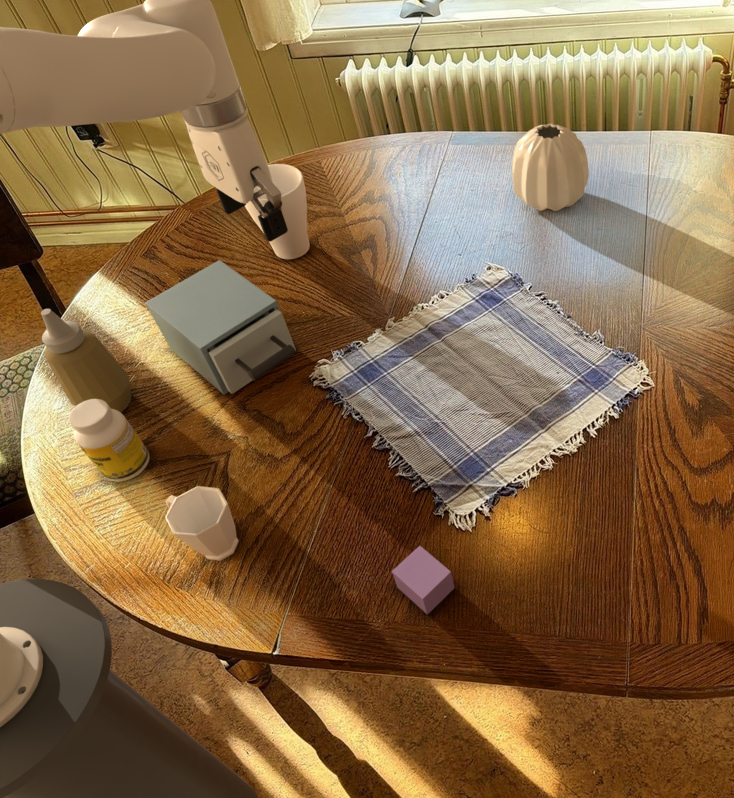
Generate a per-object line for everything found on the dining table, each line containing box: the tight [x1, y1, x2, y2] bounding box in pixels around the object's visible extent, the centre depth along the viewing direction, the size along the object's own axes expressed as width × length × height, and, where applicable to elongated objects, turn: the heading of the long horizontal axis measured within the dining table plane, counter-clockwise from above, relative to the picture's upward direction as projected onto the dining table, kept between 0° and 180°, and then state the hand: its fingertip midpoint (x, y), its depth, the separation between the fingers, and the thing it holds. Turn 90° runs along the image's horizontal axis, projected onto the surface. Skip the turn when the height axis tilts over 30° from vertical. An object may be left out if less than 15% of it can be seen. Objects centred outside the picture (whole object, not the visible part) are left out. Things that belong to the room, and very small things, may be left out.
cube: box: [391, 545, 455, 615], centre depth 86 cm, size 4×5×4 cm
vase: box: [511, 123, 590, 212], centre depth 133 cm, size 14×14×13 cm
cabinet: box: [144, 259, 281, 395], centre depth 111 cm, size 15×13×10 cm
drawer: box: [207, 310, 297, 395], centre depth 109 cm, size 18×11×8 cm, turn 49°
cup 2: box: [244, 163, 311, 260], centre depth 125 cm, size 10×10×14 cm
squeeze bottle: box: [40, 308, 132, 413], centre depth 101 cm, size 8×8×18 cm
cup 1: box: [164, 485, 240, 561], centre depth 90 cm, size 7×10×8 cm
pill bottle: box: [68, 399, 150, 483], centre depth 96 cm, size 6×6×11 cm
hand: (256, 222), depth 103 cm, fingers open, 9 cm apart
